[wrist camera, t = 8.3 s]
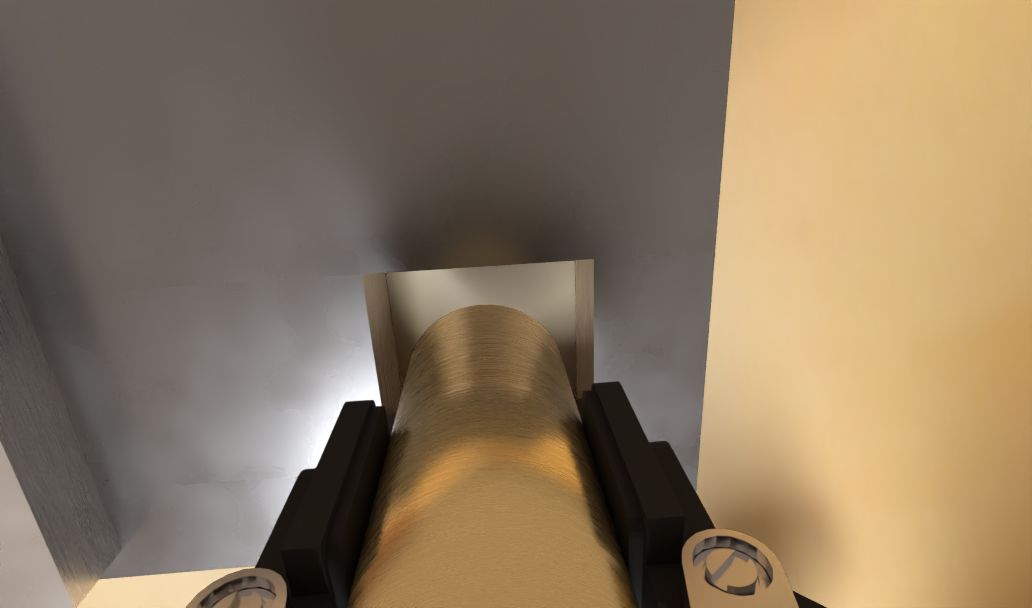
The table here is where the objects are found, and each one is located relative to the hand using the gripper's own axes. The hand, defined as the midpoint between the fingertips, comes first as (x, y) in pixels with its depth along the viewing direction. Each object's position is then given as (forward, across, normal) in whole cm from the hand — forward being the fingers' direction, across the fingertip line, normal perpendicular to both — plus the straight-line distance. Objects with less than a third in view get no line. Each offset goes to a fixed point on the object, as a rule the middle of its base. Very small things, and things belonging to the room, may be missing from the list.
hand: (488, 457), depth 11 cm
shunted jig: (+7, +4, -2) cm, 8 cm away
